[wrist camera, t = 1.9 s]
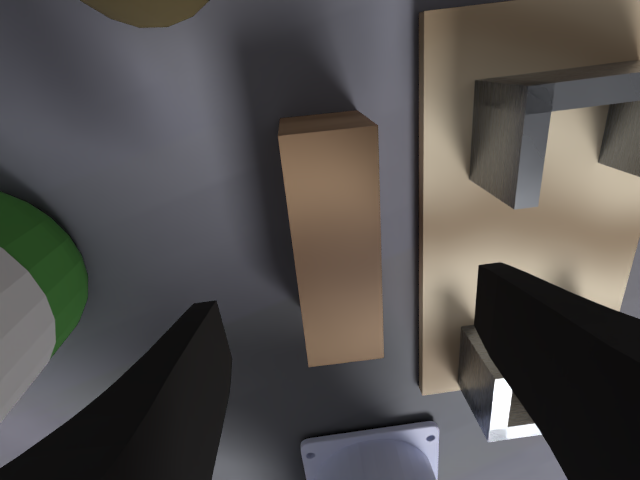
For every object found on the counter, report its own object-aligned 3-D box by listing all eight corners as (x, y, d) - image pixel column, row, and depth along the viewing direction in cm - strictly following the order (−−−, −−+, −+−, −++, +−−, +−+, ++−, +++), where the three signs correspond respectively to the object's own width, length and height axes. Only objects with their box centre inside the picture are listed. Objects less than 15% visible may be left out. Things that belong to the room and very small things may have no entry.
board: (595, 361, 22) (603, 369, 21) (419, 386, 21) (422, 395, 21) (692, -20, 14) (709, -24, 13) (418, 12, 14) (424, 10, 13)
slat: (365, 301, 19) (383, 358, 15) (304, 308, 19) (308, 367, 15) (356, 109, 15) (377, 125, 12) (279, 117, 15) (278, 135, 12)
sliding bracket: (616, 160, 16) (697, 185, 13) (469, 179, 16) (514, 209, 13) (639, 59, 14) (737, 59, 11) (474, 79, 14) (528, 86, 11)
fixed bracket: (571, 367, 21) (621, 422, 18) (457, 383, 21) (488, 442, 18) (583, 309, 19) (642, 358, 16) (460, 326, 19) (495, 379, 16)
